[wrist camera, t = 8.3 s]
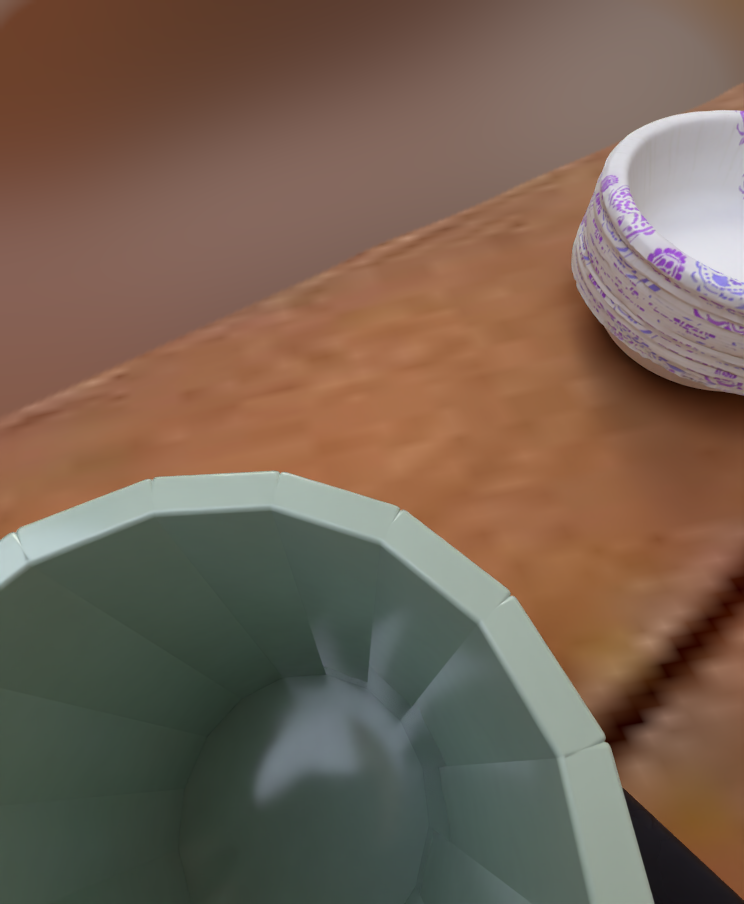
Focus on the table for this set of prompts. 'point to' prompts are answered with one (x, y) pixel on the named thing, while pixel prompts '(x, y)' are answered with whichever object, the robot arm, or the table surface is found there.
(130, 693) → the cup
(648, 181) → the white and purple bowl
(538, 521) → the table surface
